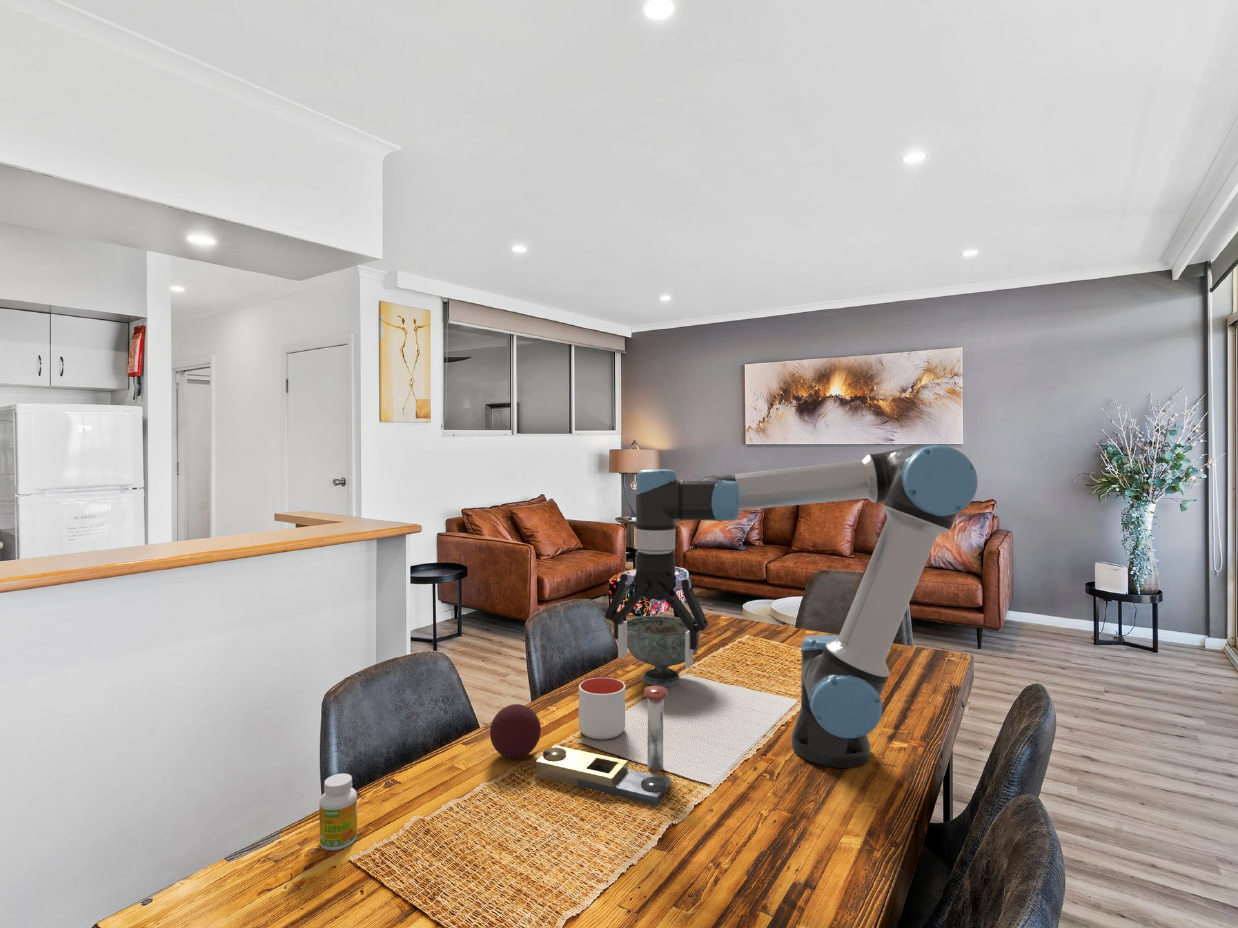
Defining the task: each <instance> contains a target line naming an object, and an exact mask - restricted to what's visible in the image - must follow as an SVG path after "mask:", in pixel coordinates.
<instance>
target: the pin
mask: <svg viewBox="0 0 1238 928" xmlns="http://www.w3.org/2000/svg"><path fill="white" fill-rule="evenodd" d="M643 692H644V693H643V694H644V695H643V696H644V697H645V698H646V699H647V762H646V763H647V766H646V767H647V769H648V768H649V769H648V770H649V771H651V770H652V771H653V772H659V771H662V770H663V769H664V699H666V698H667V697H668V689H667V688H666V687H665V686H655V685H651V686H647V687H645V688H644V690H643Z"/></svg>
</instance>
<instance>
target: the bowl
mask: <svg viewBox="0 0 1238 928" xmlns="http://www.w3.org/2000/svg"><path fill="white" fill-rule="evenodd" d="M626 621H627V651H629V652H630V654H631V656H632V657H634V658H635V659H636V660H638V661H639V662H642V663H645V664H648V665H651V666H654V668H650V669H648V670H646V671H645V672H644V673H643V675H642V681H643V682H644V683H646V684H649V685H651V686H661V687H672V686H674V685H677V684H678V683H679V681H680V675H679V673H678V672H677V671H675V670H674V669H671V668H669V667H672V666H677V665H681V664H683V663H684V664H685V633H686V632H687V631H688V629H687V627H686V626H685V625H684V623H683V622H682V620H681V619H680V618H679V617H677V616H665V615H648V616H646V615H645V616H637V617H633V618H630V619H628V620H626ZM700 636H701V631H699V632H698V647H697V648H696V649H695V650H693V657H694V656H695V655H696V654H697V653H698V651H699V646H700V645H699V643H700Z"/></svg>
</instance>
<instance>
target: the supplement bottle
mask: <svg viewBox="0 0 1238 928" xmlns="http://www.w3.org/2000/svg"><path fill="white" fill-rule="evenodd" d="M323 790H324V793H322V795H321V796H320V799H319V843H320V846H321V848H322V849H324V850H328V851H338V850H342V849H345V848H347V847H349V846H351V845H352V844H353V843H354V842H355V841H356V839H357V838H358V795H357V791H356V789H355V788H354V787H353V777H352V775H351V774H349V773H337V774H333V775H331V776H328V777H327V778H326V779H325V780H324V783H323Z"/></svg>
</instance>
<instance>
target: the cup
mask: <svg viewBox="0 0 1238 928" xmlns="http://www.w3.org/2000/svg"><path fill="white" fill-rule="evenodd" d="M578 729H579V731H580V733H582V735H584V736H585V737H587V738H589V739H593V740H610V739H615V738H616V737H619V736H620V735H621V734H622V733H623V732H624V730H625V729H626V684H625V683H624V682H623V681H622V680H619V679H616V678H611V677H593V678H589V679H586V680H584V681H582V682H581V683H579V686H578Z"/></svg>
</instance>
